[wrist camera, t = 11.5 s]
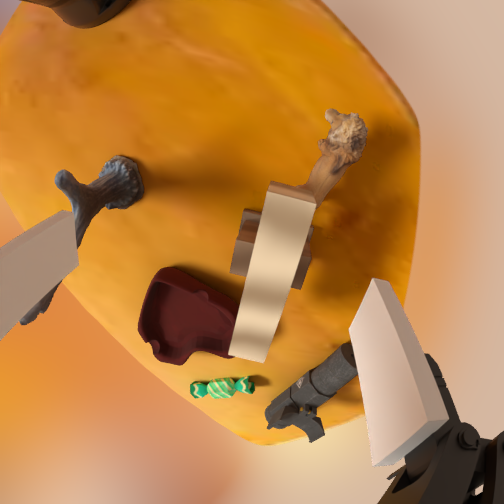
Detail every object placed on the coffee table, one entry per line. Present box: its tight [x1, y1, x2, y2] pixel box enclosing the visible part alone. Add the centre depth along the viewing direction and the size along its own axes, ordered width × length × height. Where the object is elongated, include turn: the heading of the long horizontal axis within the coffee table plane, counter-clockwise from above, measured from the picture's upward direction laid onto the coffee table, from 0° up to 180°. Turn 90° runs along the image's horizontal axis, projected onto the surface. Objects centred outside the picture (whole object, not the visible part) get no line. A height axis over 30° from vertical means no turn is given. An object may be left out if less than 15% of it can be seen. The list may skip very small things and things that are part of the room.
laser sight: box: [265, 343, 358, 443], centre depth 43 cm, size 10×22×10 cm, turn 149°
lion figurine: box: [296, 109, 368, 209], centre depth 29 cm, size 15×5×9 cm, turn 158°
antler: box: [19, 155, 144, 325], centre depth 26 cm, size 12×8×25 cm
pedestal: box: [230, 209, 314, 290], centre depth 34 cm, size 6×9×8 cm, turn 78°
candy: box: [190, 376, 255, 399], centre depth 49 cm, size 12×3×4 cm
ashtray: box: [138, 267, 239, 365], centre depth 42 cm, size 18×16×5 cm
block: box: [228, 181, 317, 363], centre depth 28 cm, size 18×4×5 cm, turn 168°
